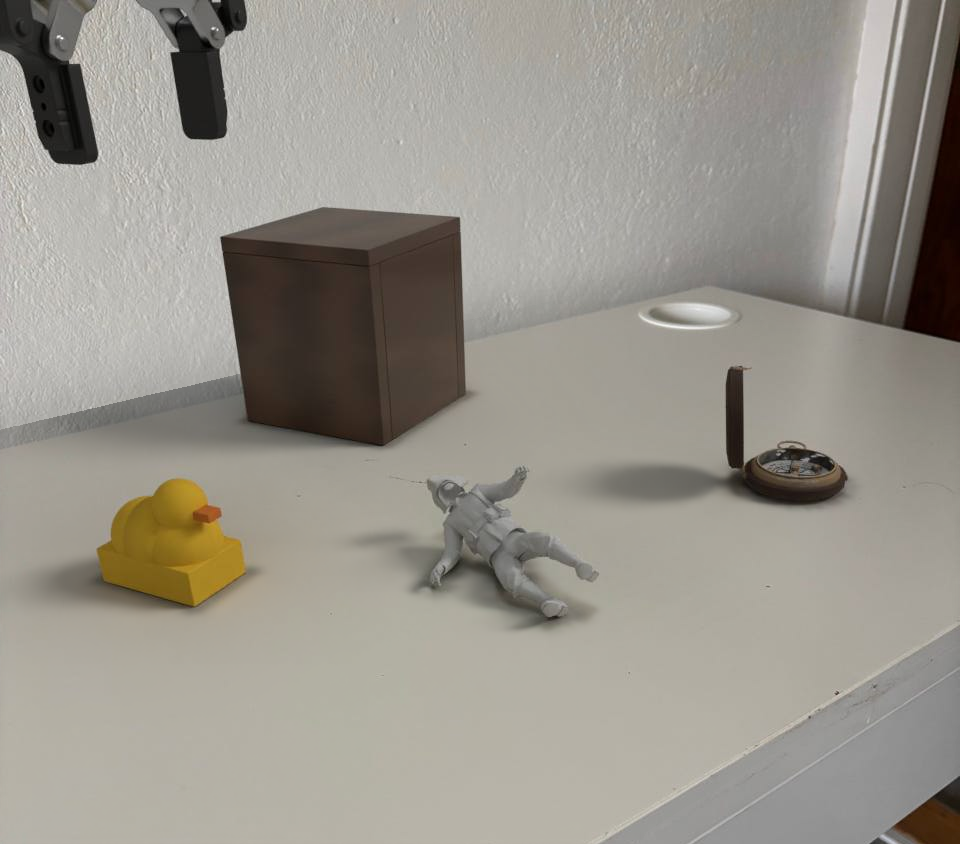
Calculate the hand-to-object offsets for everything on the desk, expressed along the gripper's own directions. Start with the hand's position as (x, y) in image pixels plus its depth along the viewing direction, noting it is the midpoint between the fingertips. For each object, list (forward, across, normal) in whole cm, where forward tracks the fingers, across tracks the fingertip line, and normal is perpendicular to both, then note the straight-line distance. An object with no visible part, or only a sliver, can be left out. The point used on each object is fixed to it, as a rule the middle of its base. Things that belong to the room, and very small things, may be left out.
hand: (144, 150), depth 47 cm
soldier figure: (+21, -5, +16) cm, 27 cm away
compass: (+21, -24, +26) cm, 41 cm away
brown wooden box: (+21, -24, -6) cm, 32 cm away
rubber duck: (+21, +3, 0) cm, 21 cm away
